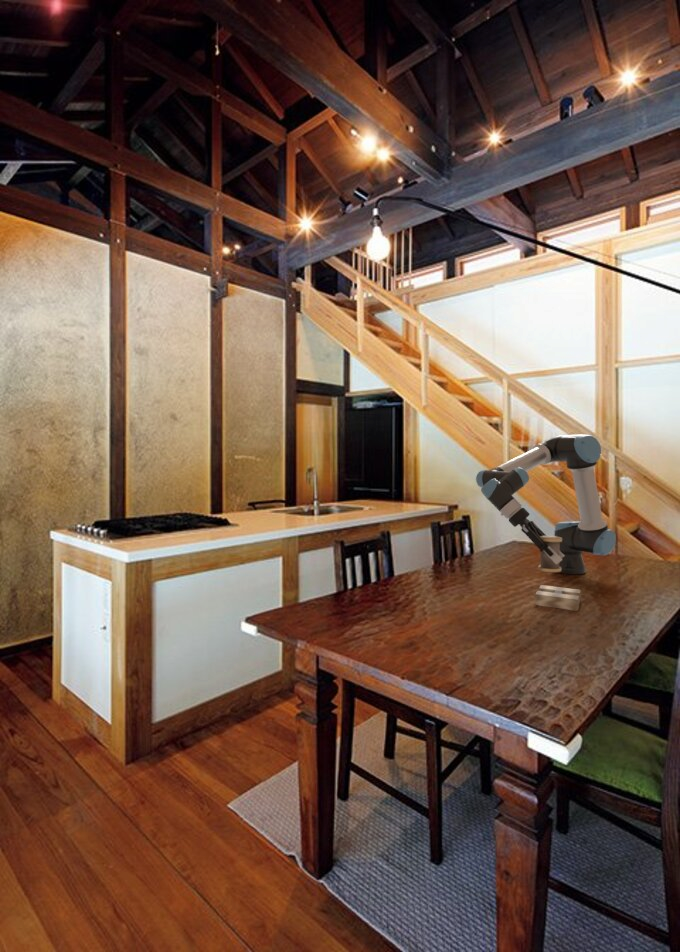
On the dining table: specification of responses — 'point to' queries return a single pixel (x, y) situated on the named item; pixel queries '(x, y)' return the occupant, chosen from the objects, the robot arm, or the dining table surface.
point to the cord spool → (546, 562)
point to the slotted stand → (558, 597)
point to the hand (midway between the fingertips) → (560, 560)
